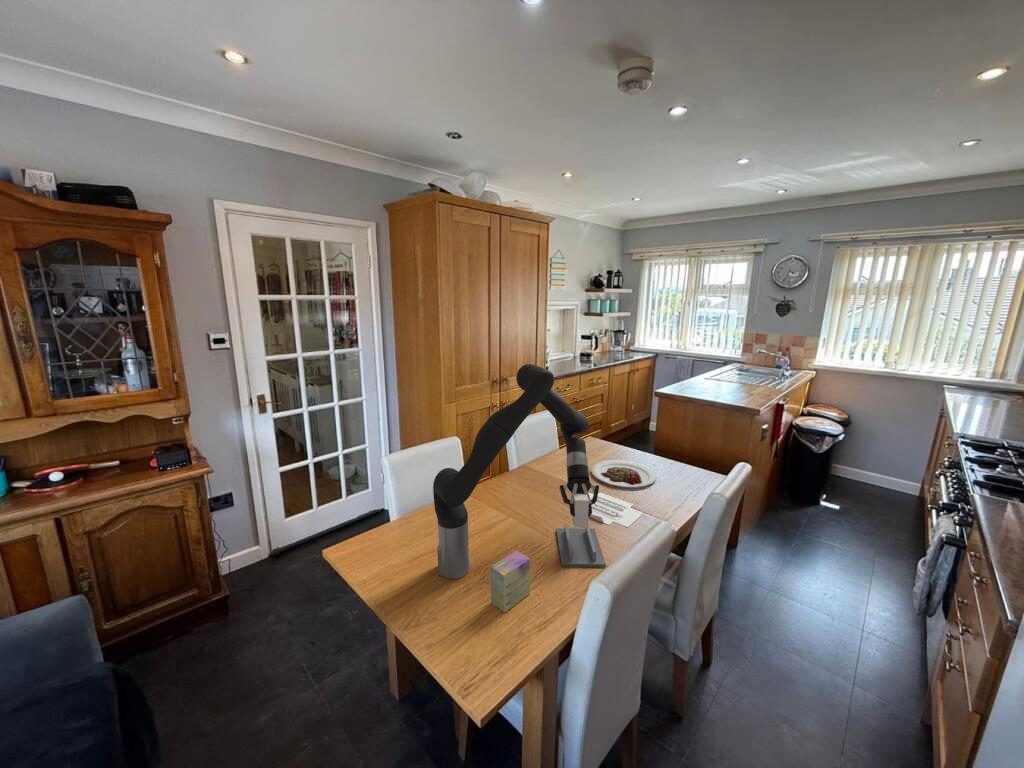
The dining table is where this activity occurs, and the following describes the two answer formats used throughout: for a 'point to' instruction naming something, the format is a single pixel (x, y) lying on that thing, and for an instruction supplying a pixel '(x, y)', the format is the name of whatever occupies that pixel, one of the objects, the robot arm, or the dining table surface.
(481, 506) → the dining table surface
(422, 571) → the dining table surface
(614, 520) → the tray
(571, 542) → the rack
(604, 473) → the plated food
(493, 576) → the box
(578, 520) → the block
